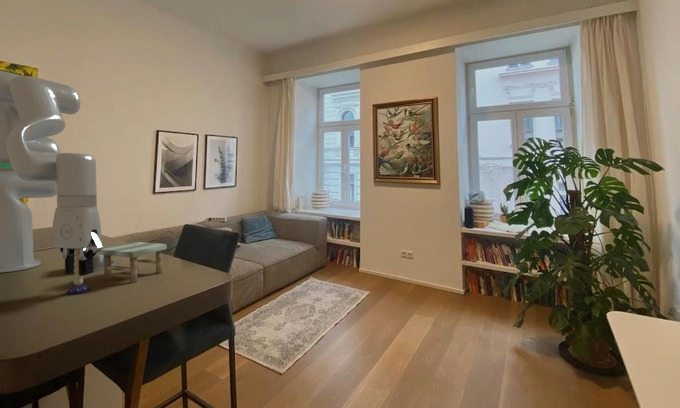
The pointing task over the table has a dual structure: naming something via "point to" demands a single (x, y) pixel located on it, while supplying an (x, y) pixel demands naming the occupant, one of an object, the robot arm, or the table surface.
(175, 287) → the table surface
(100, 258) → the ceramic mug
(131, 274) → the footstool
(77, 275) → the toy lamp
